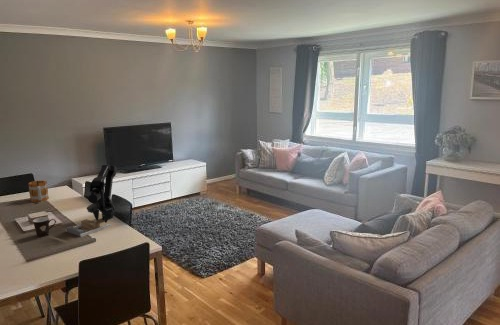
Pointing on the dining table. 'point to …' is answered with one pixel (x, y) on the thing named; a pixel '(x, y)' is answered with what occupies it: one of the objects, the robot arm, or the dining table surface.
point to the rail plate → (80, 232)
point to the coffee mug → (42, 226)
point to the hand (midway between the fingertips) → (101, 221)
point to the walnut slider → (90, 224)
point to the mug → (38, 191)
